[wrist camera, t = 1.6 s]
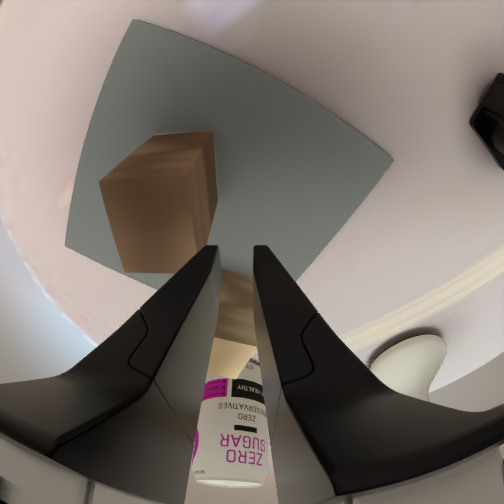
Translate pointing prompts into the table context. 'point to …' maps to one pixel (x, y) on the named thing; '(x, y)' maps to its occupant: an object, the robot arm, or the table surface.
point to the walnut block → (162, 201)
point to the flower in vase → (411, 365)
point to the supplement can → (232, 432)
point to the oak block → (233, 326)
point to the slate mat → (225, 152)
